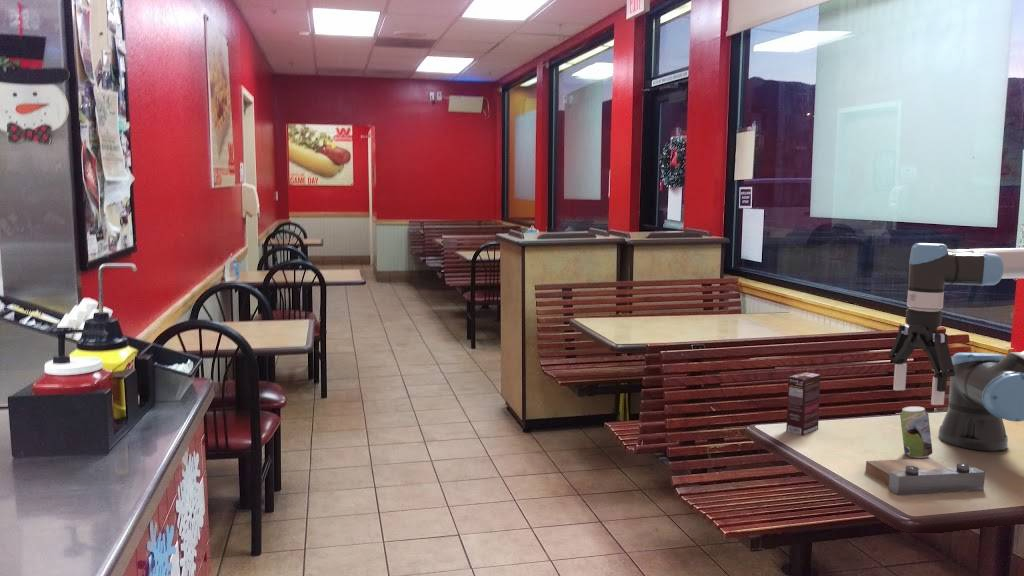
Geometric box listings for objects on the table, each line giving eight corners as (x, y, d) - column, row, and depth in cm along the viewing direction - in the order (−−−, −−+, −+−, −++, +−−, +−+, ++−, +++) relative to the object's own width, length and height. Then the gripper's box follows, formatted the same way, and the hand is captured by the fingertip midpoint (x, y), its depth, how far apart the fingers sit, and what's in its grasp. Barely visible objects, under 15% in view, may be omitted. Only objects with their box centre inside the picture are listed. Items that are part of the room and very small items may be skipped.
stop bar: (973, 484, 167) (974, 461, 167) (983, 490, 164) (985, 466, 164) (888, 489, 164) (890, 466, 164) (897, 495, 161) (899, 471, 161)
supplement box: (801, 429, 207) (804, 371, 206) (818, 433, 204) (821, 374, 202) (784, 435, 202) (787, 376, 200) (801, 440, 198) (805, 379, 196)
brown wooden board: (930, 471, 177) (931, 458, 177) (960, 487, 167) (961, 473, 167) (865, 473, 175) (866, 461, 175) (892, 490, 165) (893, 476, 165)
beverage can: (935, 461, 182) (939, 412, 181) (902, 459, 184) (905, 410, 182) (927, 453, 188) (930, 405, 187) (894, 451, 190) (897, 403, 188)
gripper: (876, 302, 193) (871, 384, 196) (947, 317, 169) (939, 411, 171) (904, 301, 195) (898, 384, 197) (977, 316, 170) (970, 410, 173)
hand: (917, 397), depth 184 cm, fingers open, 13 cm apart
